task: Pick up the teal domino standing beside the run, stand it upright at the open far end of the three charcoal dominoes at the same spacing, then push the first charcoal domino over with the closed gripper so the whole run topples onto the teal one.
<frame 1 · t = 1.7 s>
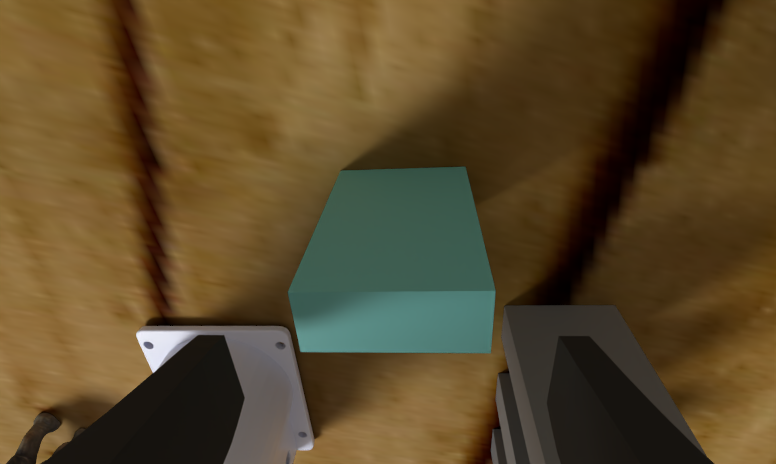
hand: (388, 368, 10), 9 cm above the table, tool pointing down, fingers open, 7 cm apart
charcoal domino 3: (556, 321, 21), on the table
charcoal domino 1: (535, 440, 25), on the table
charcoal domino 2: (545, 387, 23), on the table
teal domino: (403, 191, 18), on the table
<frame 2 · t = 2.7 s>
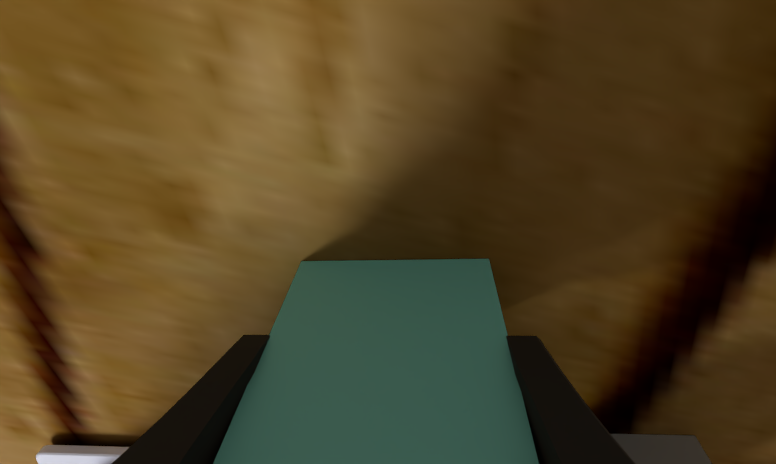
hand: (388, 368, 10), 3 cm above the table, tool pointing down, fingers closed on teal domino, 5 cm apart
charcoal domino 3: (609, 452, 15), on the table
teal domino: (395, 290, 12), on the table, touching gripper
when the fingers open (4 cm above the table, at t = 6.8 s): teal domino stays where it is, on the table.
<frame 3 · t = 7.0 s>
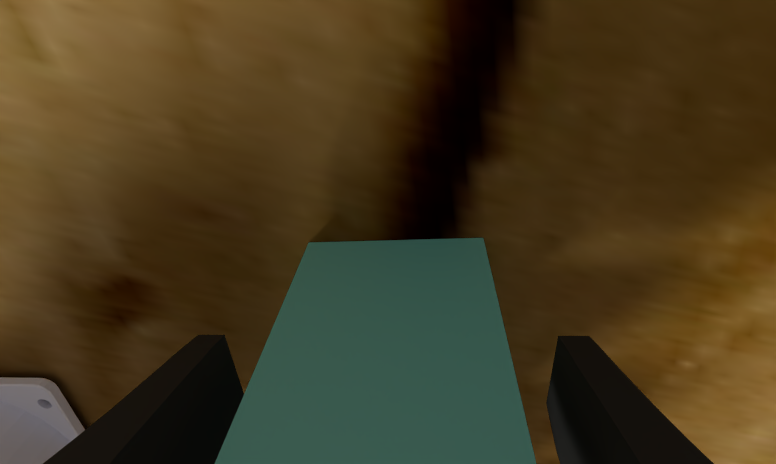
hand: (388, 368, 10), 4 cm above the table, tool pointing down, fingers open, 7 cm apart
teal domino: (396, 268, 13), on the table
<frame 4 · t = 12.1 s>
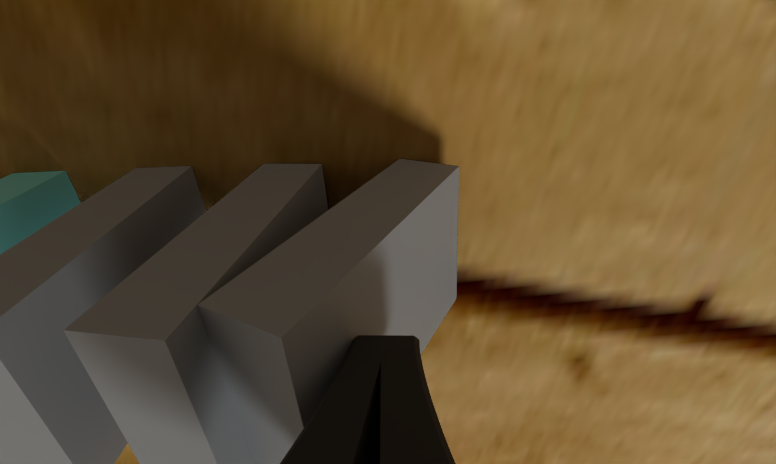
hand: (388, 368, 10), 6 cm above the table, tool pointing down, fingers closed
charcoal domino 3: (185, 231, 16), on the table
charcoal domino 1: (429, 232, 15), on the table, tilted 25°
charcoal domino 2: (304, 230, 15), on the table, tilted 7°
teal domino: (70, 234, 16), on the table
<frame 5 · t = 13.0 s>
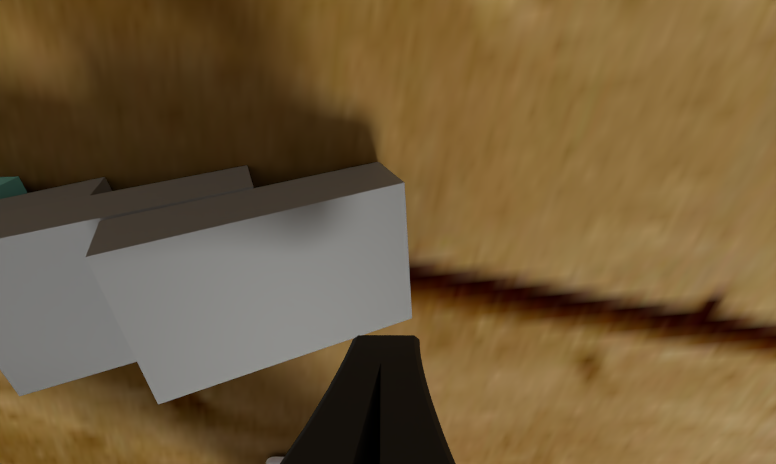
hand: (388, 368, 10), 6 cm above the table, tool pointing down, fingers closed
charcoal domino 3: (129, 252, 15), point 1 cm above the table, tilted 70°, touching charcoal domino 2
charcoal domino 1: (395, 242, 14), point 1 cm above the table, tilted 63°, touching charcoal domino 2
charcoal domino 2: (267, 243, 15), point 1 cm above the table, tilted 65°, touching charcoal domino 1, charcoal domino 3
teal domino: (44, 242, 16), on the table, tilted 90°
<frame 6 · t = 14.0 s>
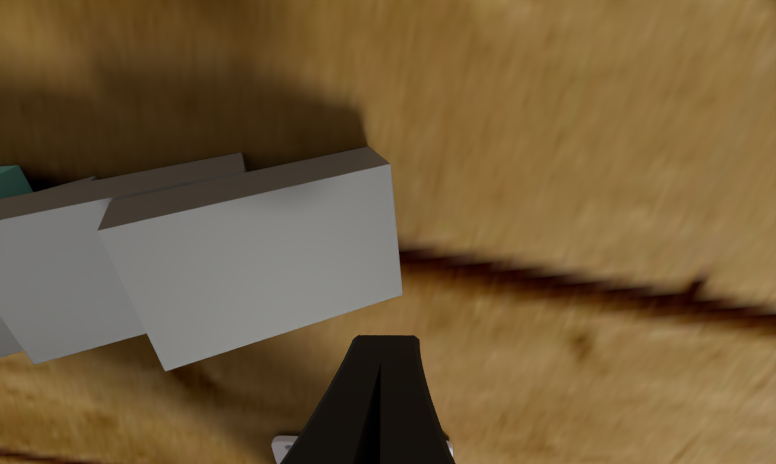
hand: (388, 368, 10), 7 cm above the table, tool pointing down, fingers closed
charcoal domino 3: (123, 244, 16), point 1 cm above the table, tilted 71°, touching charcoal domino 2, teal domino
charcoal domino 1: (385, 222, 15), point 1 cm above the table, tilted 64°, touching charcoal domino 2
charcoal domino 2: (260, 226, 16), point 1 cm above the table, tilted 67°, touching charcoal domino 1, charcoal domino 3
teal domino: (44, 227, 17), on the table, tilted 90°, touching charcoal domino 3
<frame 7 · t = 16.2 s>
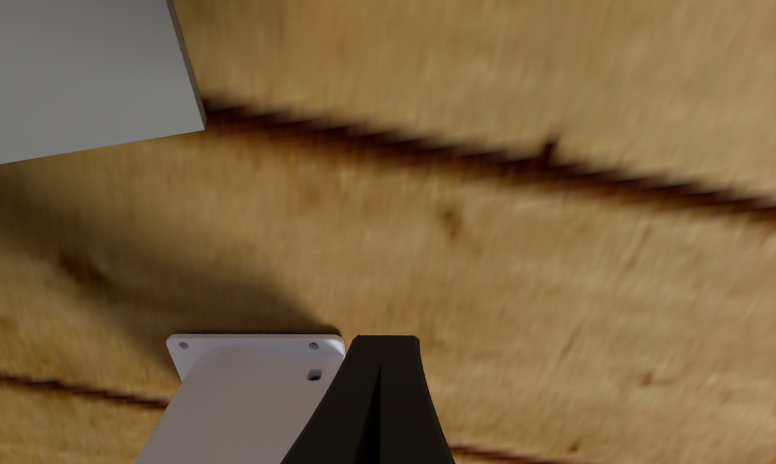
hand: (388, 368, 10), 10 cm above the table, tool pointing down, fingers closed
charcoal domino 1: (184, 52, 15), point 1 cm above the table, tilted 67°, touching charcoal domino 2
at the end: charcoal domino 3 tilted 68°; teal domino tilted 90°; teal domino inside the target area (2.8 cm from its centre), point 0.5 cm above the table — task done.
